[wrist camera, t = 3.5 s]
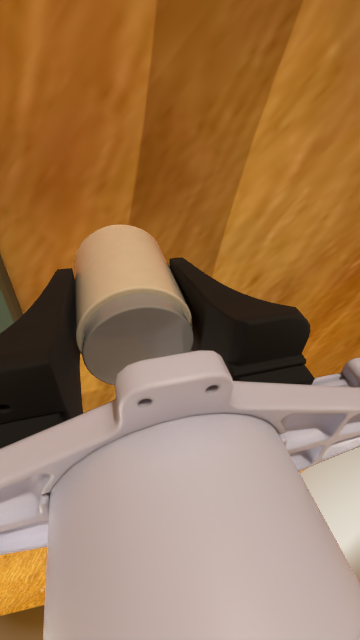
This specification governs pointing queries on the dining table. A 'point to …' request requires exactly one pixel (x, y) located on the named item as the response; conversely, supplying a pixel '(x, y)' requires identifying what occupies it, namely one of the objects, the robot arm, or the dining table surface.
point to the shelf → (7, 301)
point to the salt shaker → (126, 302)
